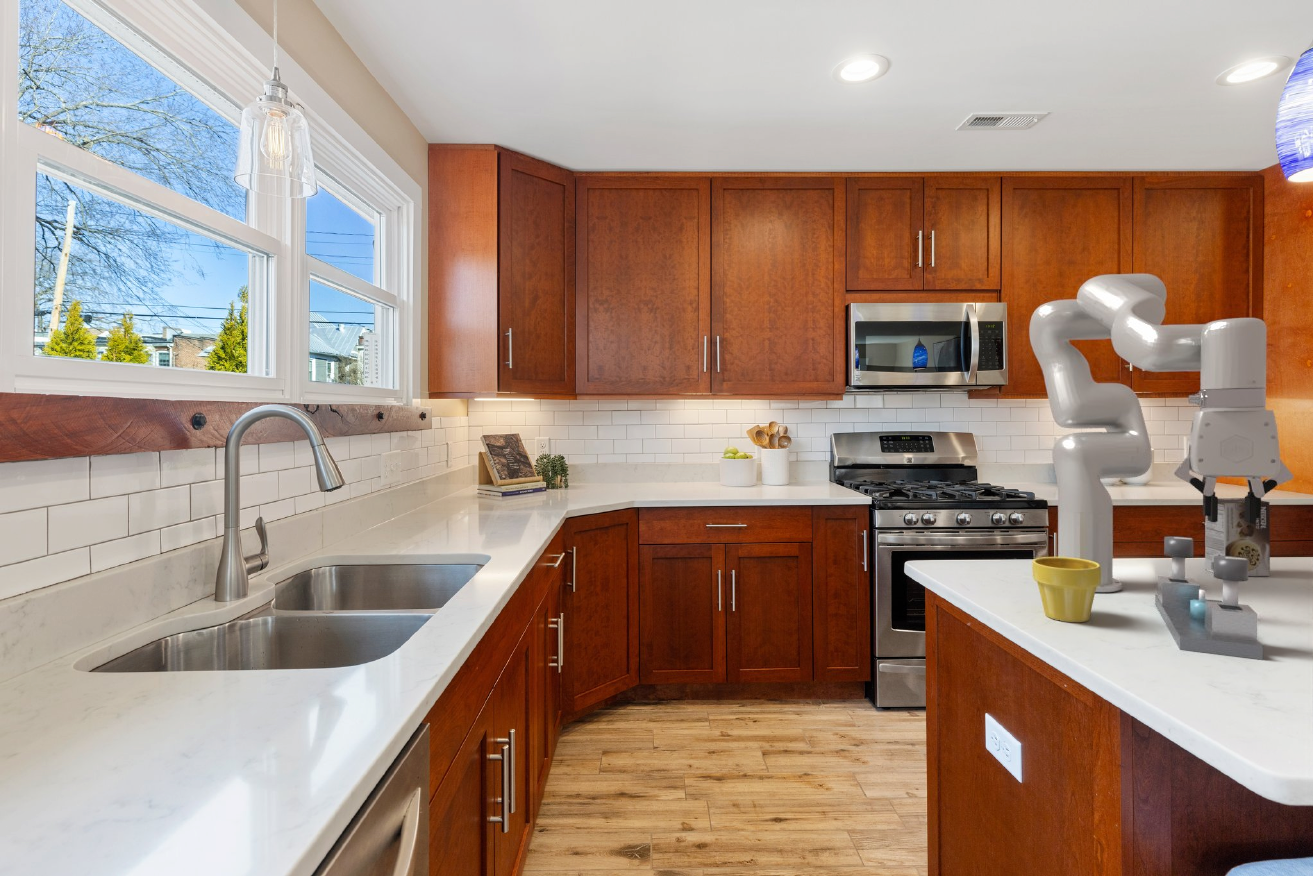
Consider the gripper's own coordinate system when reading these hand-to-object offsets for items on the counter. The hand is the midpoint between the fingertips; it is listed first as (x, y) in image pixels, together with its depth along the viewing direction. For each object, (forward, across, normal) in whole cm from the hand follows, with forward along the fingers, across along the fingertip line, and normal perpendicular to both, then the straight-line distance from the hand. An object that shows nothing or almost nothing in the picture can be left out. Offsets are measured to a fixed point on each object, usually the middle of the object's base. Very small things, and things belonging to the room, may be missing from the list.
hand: (1231, 520), depth 102 cm
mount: (+19, -2, +8) cm, 21 cm away
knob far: (+13, -4, +16) cm, 21 cm away
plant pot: (+19, -21, +6) cm, 29 cm away
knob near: (+13, 0, 0) cm, 13 cm away
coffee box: (+19, +12, +57) cm, 61 cm away
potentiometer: (+17, -2, +8) cm, 19 cm away
